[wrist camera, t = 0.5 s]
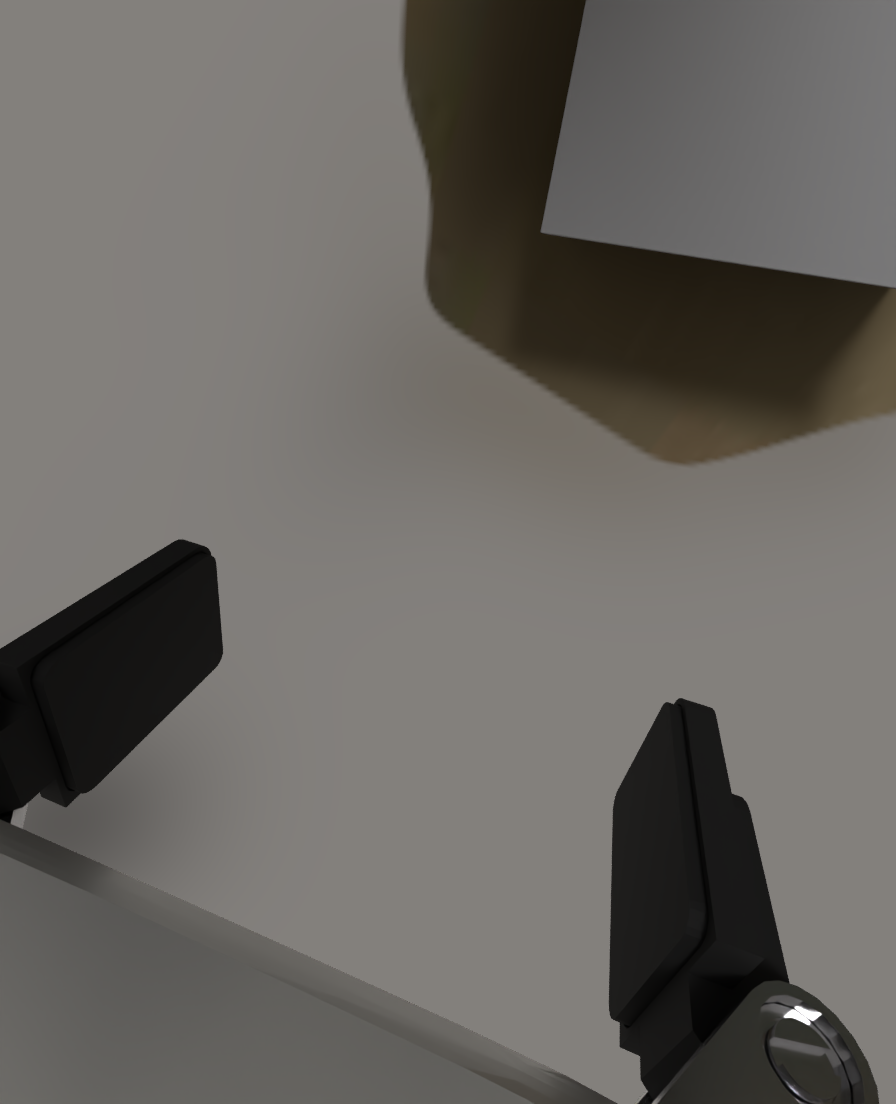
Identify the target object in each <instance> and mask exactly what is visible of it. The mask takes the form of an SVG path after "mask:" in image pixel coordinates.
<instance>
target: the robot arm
mask: <svg viewBox="0 0 896 1104" xmlns="http://www.w3.org/2000/svg"><path fill="white" fill-rule="evenodd" d="M222 654H223V644H222V633H221V619H220V606H219V594H218V581H217V568H216V561H215V558H214V557H212V556H211V552H210V551H209V549H208V548H207V547H205V546H202V545H199V544H196V543H192V542H189V541H186V540H177V541H174V542H173V543H171V544H170V545H168V546H166V547H164V548H163V549H161V550H160V551H158V552H156V553H155V554H153V555H151V556H150V557H148V558H147V559H145V560H144V561H142V562H141V563H139V564H137V565H135V566H134V567H132V568H130V569H129V570H127V571H126V572H124V573H122V574H121V575H119V576H118V577H116V578H114V579H113V580H111V581H110V582H108V583H106V584H105V585H103V586H101V587H100V588H98V589H97V590H95V591H93V592H92V593H90V594H88V595H87V596H85V597H83V598H82V599H80V600H79V601H77V602H75V603H74V604H72V605H71V606H69V607H67V608H66V609H64V610H62V611H61V612H59V613H57V614H56V615H54V616H53V617H51V618H49V619H48V620H46V621H45V622H43V623H41V624H40V625H38V626H37V627H35V628H33V629H32V630H30V631H29V632H27V633H25V634H23V635H22V636H20V637H19V638H17V639H15V640H14V641H12V642H11V643H9V644H7V645H6V646H4V647H2V648H1V649H0V1104H617V1103H615V1102H613V1101H612V1100H610V1099H608V1098H606V1097H604V1096H602V1095H600V1094H599V1093H597V1092H595V1091H593V1090H591V1089H589V1088H588V1087H586V1086H584V1085H582V1084H580V1083H579V1082H577V1081H575V1080H573V1079H571V1078H569V1077H567V1076H566V1075H563V1074H561V1073H559V1072H557V1071H555V1070H553V1069H551V1068H548V1067H547V1066H545V1065H542V1064H540V1063H538V1062H536V1061H534V1060H532V1059H530V1058H528V1057H526V1056H524V1055H522V1054H519V1053H517V1052H515V1051H513V1050H511V1049H509V1048H507V1047H505V1046H502V1045H500V1044H498V1043H496V1042H494V1041H492V1040H490V1039H488V1038H486V1037H484V1036H481V1035H479V1034H478V1033H475V1032H473V1031H471V1030H469V1029H467V1028H465V1027H463V1026H461V1025H458V1024H456V1023H454V1022H452V1021H450V1020H448V1019H445V1018H443V1017H441V1016H439V1015H437V1014H434V1013H432V1012H430V1011H428V1010H426V1009H423V1008H421V1007H419V1006H417V1005H415V1004H412V1003H410V1002H408V1001H406V1000H404V999H401V998H399V997H397V996H395V995H393V994H390V993H388V992H386V991H384V990H382V989H379V988H377V987H375V986H373V985H370V984H368V983H366V982H364V981H362V980H360V979H357V978H355V977H353V976H350V975H349V974H346V973H344V972H342V971H340V970H338V969H335V968H333V967H331V966H329V965H326V964H324V963H322V962H320V961H318V960H315V959H313V958H311V957H309V956H307V955H304V954H302V953H300V952H298V951H296V950H293V949H291V948H289V947H287V946H284V945H282V944H280V943H278V942H276V941H273V940H271V939H269V938H267V937H264V936H262V935H260V934H258V933H255V932H253V931H251V930H248V929H246V928H244V927H242V926H240V925H238V924H235V923H233V922H231V921H228V920H226V919H224V918H222V917H220V916H217V915H215V914H213V913H211V912H209V911H206V910H204V909H202V908H200V907H197V906H195V905H193V904H191V903H188V902H186V901H184V900H182V899H179V898H177V897H175V896H173V895H171V894H168V893H166V892H164V891H161V890H159V889H157V888H155V887H153V886H150V885H148V884H146V883H144V882H141V881H139V880H137V879H135V878H132V877H130V876H128V875H126V874H123V873H121V872H119V871H116V870H114V869H112V868H110V867H108V866H105V865H103V864H101V863H98V862H96V861H94V860H92V859H89V858H87V857H85V856H83V855H80V854H78V853H76V852H73V851H71V850H69V849H67V848H64V847H62V846H60V845H58V844H55V843H53V842H51V841H48V840H46V839H44V838H42V837H40V836H37V835H35V834H32V833H30V832H28V831H26V830H24V829H22V828H23V823H24V819H25V814H26V810H27V806H28V802H29V801H30V800H31V799H33V798H34V797H35V796H36V795H37V794H38V793H39V792H40V794H41V796H42V797H43V798H45V799H48V800H50V801H52V802H55V803H57V804H59V805H62V806H64V807H67V806H68V805H69V804H70V803H71V802H72V801H73V800H74V799H75V798H76V797H77V796H78V795H79V794H80V793H87V792H89V791H90V790H92V789H93V788H94V787H95V786H97V785H98V784H99V783H100V782H101V781H102V780H103V779H104V778H105V777H106V776H107V775H108V774H109V773H110V772H111V771H112V770H113V769H114V768H115V767H116V766H117V765H118V764H119V763H120V762H121V761H122V760H123V759H124V758H125V757H126V756H127V755H128V754H129V753H130V752H131V751H132V750H133V749H134V748H135V747H136V746H137V745H138V744H139V743H140V742H141V741H142V740H143V739H144V738H145V737H146V736H147V735H148V734H149V733H150V732H151V731H152V730H153V729H154V728H155V727H156V726H157V725H158V724H159V723H160V722H161V721H162V720H163V719H164V718H165V717H166V716H167V715H168V714H169V713H170V712H171V711H172V710H173V709H174V708H175V707H176V706H177V705H179V703H181V702H182V701H183V699H185V698H186V697H187V696H188V695H189V694H190V693H191V692H192V691H193V690H194V689H195V688H196V686H198V685H199V684H200V683H201V682H202V681H203V680H204V679H205V678H206V677H207V676H208V675H209V674H210V673H211V672H212V671H213V670H214V669H215V668H216V667H217V666H218V664H219V662H220V660H221V658H222ZM612 836H613V837H612V884H611V887H612V888H611V929H610V976H609V977H610V978H609V1011H610V1016H611V1018H612V1019H613V1020H615V1021H618V1022H620V1047H621V1048H623V1049H625V1050H627V1051H630V1052H632V1053H634V1054H637V1055H639V1056H640V1066H641V1067H640V1068H641V1081H642V1082H643V1084H644V1086H645V1087H646V1089H647V1090H646V1091H645V1092H644V1093H643V1094H642V1096H641V1097H640V1098H639V1099H638V1100H637V1101H636V1102H635V1104H879V1098H878V1090H877V1085H876V1083H875V1080H874V1077H873V1075H872V1072H871V1069H870V1066H869V1064H868V1061H867V1059H866V1058H865V1056H864V1054H863V1053H862V1051H861V1049H860V1047H859V1046H858V1044H857V1042H856V1040H855V1039H854V1037H853V1036H852V1034H851V1033H850V1032H849V1031H848V1030H847V1028H846V1027H845V1026H844V1025H843V1023H842V1022H841V1021H840V1020H839V1018H838V1017H837V1016H836V1015H835V1014H834V1013H833V1012H832V1011H831V1010H830V1009H829V1008H827V1007H826V1006H825V1005H824V1004H823V1003H822V1002H821V1001H820V1000H819V999H818V998H816V997H815V996H813V995H811V994H810V993H808V992H806V991H805V990H803V989H802V988H800V987H798V986H796V985H793V984H789V979H788V975H787V970H786V966H785V962H784V957H783V953H782V949H781V944H780V940H779V936H778V931H777V927H776V923H775V918H774V914H773V910H772V905H771V901H770V896H769V892H768V888H767V884H766V879H765V874H764V870H763V866H762V862H761V857H760V853H759V848H758V844H757V840H756V835H755V831H754V826H753V822H752V818H751V813H750V810H749V807H748V805H747V803H746V801H745V800H744V799H743V798H742V797H740V796H737V795H734V794H732V793H731V788H730V783H729V778H728V773H727V769H726V763H725V758H724V753H723V749H722V744H721V738H720V733H719V728H718V723H717V719H716V714H715V711H714V710H713V709H712V708H710V707H707V706H704V705H701V704H697V703H694V702H691V701H688V700H685V699H682V698H679V699H678V700H677V701H676V702H675V703H674V704H671V703H668V702H666V703H665V704H664V705H663V706H662V708H661V710H660V712H659V714H658V716H657V717H656V719H655V721H654V723H653V725H652V727H651V729H650V731H649V732H648V734H647V736H646V738H645V740H644V742H643V744H642V746H641V747H640V749H639V751H638V753H637V755H636V757H635V759H634V761H633V763H632V764H631V767H630V768H629V770H628V772H627V774H626V776H625V778H624V780H623V781H622V783H621V785H620V787H619V789H618V791H617V793H616V796H615V800H614V806H613V835H612Z"/></svg>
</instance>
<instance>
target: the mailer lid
mask: <svg viewBox="0 0 896 1104" xmlns="http://www.w3.org/2000/svg"><path fill="white" fill-rule="evenodd" d="M541 233H544V234H548V235H555V236H561V237H567V238H574V239H580V240H587V241H593V242H599V243H606V244H612V245H619V246H625V247H631V248H638V249H644V250H651V251H657V252H663V253H670V254H676V255H683V256H689V257H695V258H702V259H708V260H715V261H721V262H727V263H734V264H740V265H747V266H753V267H759V268H766V269H772V270H779V271H785V272H791V273H798V274H804V275H811V276H817V277H823V278H830V279H836V280H843V281H849V282H855V283H862V284H868V285H875V286H881V287H887V288H894V289H896V0H586V3H585V8H584V14H583V19H582V24H581V29H580V34H579V39H578V44H577V49H576V54H575V59H574V65H573V70H572V75H571V80H570V85H569V90H568V95H567V100H566V105H565V110H564V116H563V121H562V126H561V131H560V136H559V141H558V146H557V151H556V156H555V161H554V166H553V172H552V177H551V182H550V187H549V192H548V197H547V202H546V207H545V212H544V217H543V223H542V228H541Z"/></svg>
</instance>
